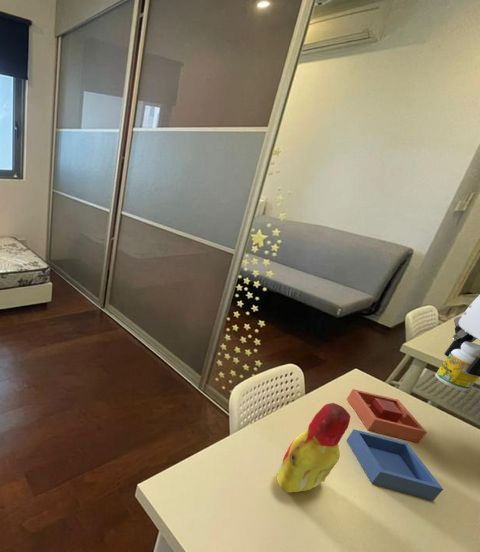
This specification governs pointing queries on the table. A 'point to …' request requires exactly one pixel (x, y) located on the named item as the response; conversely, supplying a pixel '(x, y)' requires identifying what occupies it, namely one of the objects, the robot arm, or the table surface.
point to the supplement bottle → (459, 367)
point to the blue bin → (393, 465)
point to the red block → (385, 410)
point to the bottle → (314, 450)
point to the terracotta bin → (402, 429)
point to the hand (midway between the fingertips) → (464, 365)
